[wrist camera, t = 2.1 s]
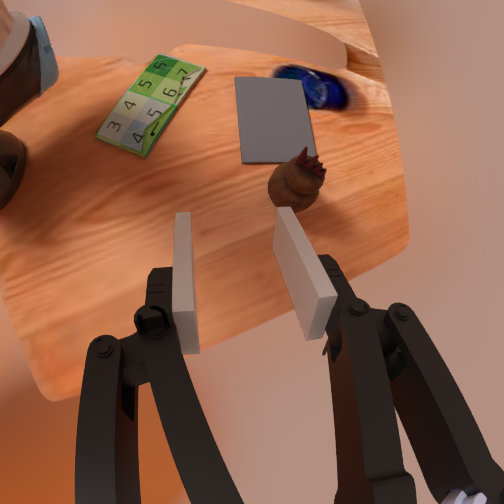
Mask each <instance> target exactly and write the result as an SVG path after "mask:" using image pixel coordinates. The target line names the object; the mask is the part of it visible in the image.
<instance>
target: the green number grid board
mask: <svg viewBox="0 0 504 504" xmlns="http://www.w3.org/2000/svg"><path fill="white" fill-rule="evenodd" d="M205 70H206V67H203V66H200V65H197V64H194V63H191V62H188V61H185V60H182V59H179V58H175V57H172V56H169V55H165V54H161V53H158V54H157V55H156V56H155V57H154V58H153V60H152V61H151V62H150V63H149V64H148V65H147V66H146V68H145V69H144V70H143V71H142V72H141V74H140V75H139V76H138V77H137V78H136V80H135V81H134V82H133V83H132V85H131V86H130V87H129V88H128V90H127V91H126V92H125V94H124V95H123V96H122V97H121V99H120V100H119V101H118V103H117V104H116V106H115V107H114V108H113V110H112V111H111V112H110V114H109V115H108V117H107V118H106V120H105V121H104V122H103V124H102V125H101V127H100V128H99V130H98V131H97V133H96V134H95V138H97V139H99V140H102V141H104V142H107V143H109V144H112V145H114V146H116V147H119V148H121V149H124V150H126V151H129V152H131V153H133V154H136V155H138V156H140V157H143V158H146V156H147V154H148V153H149V151H150V149H151V148H152V146H153V145H154V143H155V141H156V140H157V138H158V137H159V135H160V134H161V132H162V131H163V129H164V127H165V126H166V124H167V123H168V121H169V120H170V118H171V117H172V116H173V114H174V113H175V111H176V110H177V108H178V107H179V105H180V104H181V103H182V101H183V100H184V98H185V97H186V96H187V94H188V93H189V91H190V90H191V89H192V87H193V86H194V85H195V83H196V82H197V81H198V79H199V78H200V77H201V75H202V74H203V73H204V72H205Z"/></svg>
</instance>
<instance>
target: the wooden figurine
mask: <svg viewBox="0 0 504 504" xmlns="http://www.w3.org/2000/svg"><path fill="white" fill-rule="evenodd" d="M307 151H308V147H306V146H305V147H304V149H303V150H302V152H301V153H300V155H299V156H295V157H294V158H292V159H291V160H290V161H289V162H285V163H282V164H281V165H279V166H278V167H277V168H276V169H275V170H274V172H273V174H272V175H271V177H270V179H269V182H268V193H269V196H270V198H271V200H272V202H273V203H274V205H275V206H277V207H291V209H292V210H293V212H294V213H297V212H300V211H302V210H305V209H306V208H308V207H309V206H311V205H312V204H313V203H314V202H315V201H316V199H317V196H318V194H319V189H320V188H321V186H322V185H323V182H324V179H325V173H326V170H327V169H323V167H322V165H323V163H320V162H319V161H318V160H317V159H318V157H319V156H318V155H316V156H314V157H311V156H309V155H307Z"/></svg>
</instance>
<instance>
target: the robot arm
mask: <svg viewBox="0 0 504 504" xmlns="http://www.w3.org/2000/svg"><path fill="white" fill-rule="evenodd" d="M58 77H59V69H58V65H57V62H56V58H55V55H54V52H53V49H52V47H51V44H50V40H49V37H48V34H47V31H46V28H45V26H44V23H43V21H42V19H41V17H40V16H38V15H36V16H34V17H30V18H27V17H26V15H24V14H23V13H21V12H9V11H8V9H7V8H6V6H5V4H4V2H3V0H0V127H1V126H2V125H4V124H5V123H6V122H7V121H8V120H10V119H11V118H12V117H13V116H15V115H16V114H17V113H18V112H20V111H21V110H22V109H23V108H25V107H26V106H27V105H29V104H30V103H31V102H33V101H34V100H35V99H37V98H39V97H41V95H42V94H43V93H44V92H45V91H46V90H48V89H49V88H50V87H51V86H53V85H54V84H55V83H56V81H57V80H58ZM24 167H25V150H24V146H23V144H22V143H21V141H20V140H19V139H18V138H17V137H16V136H15V135H13V134H12V133H10V132H7V131H3V130H0V209H1V208H2V207H4V206H5V205H6V204H7V203H8V201H9V200H10V199H11V198H12V196H13V195H14V193H15V191H16V190H17V188H18V186H19V183H20V181H21V178H22V175H23V172H24ZM272 249H273V252H274V254H275V257H276V260H277V262H278V265H279V268H280V270H281V273H282V276H283V279H284V281H285V284H286V287H287V289H288V292H289V295H290V298H291V300H292V303H293V306H294V308H295V311H296V314H297V316H298V320H299V322H300V325H301V328H302V330H303V333H304V336H305V339H306V341H307V340H313V339H319V338H322V337H323V335H324V332H325V330H326V333H327V335H328V340H327V342H326V345H325V347H324V350H323V355H325V354H326V351H327V354H328V363H329V372H330V382H331V392H332V403H333V413H334V425H335V438H336V439H335V440H336V455H337V472H338V473H337V474H338V489H337V493H336V495H335V499H334V504H417V499H416V488H415V482H414V479H413V477H412V475H411V474H409V473H408V472H406V471H405V469H404V465H403V457H402V450H401V443H400V437H399V430H398V425H397V419H396V413H395V409H396V411H397V413H398V415H399V417H400V420H401V422H402V425H403V427H404V429H405V432H406V434H407V436H408V439H409V441H410V443H411V446H412V448H413V451H414V453H415V456H416V458H417V461H418V463H419V466H420V468H421V471H422V473H423V476H424V479H425V481H426V484H427V486H428V488H429V490H430V492H431V494H432V495H433V497H434V499H435V500H436V501H437V502H438V504H504V471H503V470H502V469H501V468H500V467H499V465H498V464H497V463H496V462H495V461H494V460H493V459H492V457H491V454H490V452H489V450H488V447H487V445H486V443H485V441H484V438H483V436H482V434H481V432H480V430H479V427H478V425H477V423H476V421H475V419H474V417H473V415H472V413H471V411H470V409H469V407H468V405H467V403H466V401H465V399H464V397H463V395H462V393H461V392H460V389H459V388H458V386H457V384H456V382H455V380H454V378H453V376H452V375H451V373H450V371H449V369H448V367H447V366H446V364H445V362H444V360H443V359H442V357H441V355H440V354H439V352H438V350H437V348H436V347H435V345H434V343H433V342H432V340H431V338H430V337H429V335H428V334H427V332H426V330H425V329H424V327H423V326H422V324H421V323H420V321H419V319H418V318H417V316H416V315H415V313H414V311H412V309H411V308H410V307H409V306H407V305H405V304H402V303H394V304H392V305H391V306H390V307H389V308H388V310H381V309H374V308H370V306H369V305H368V304H367V303H366V302H365V301H364V300H362V299H359V298H357V297H356V295H355V294H354V292H353V290H352V288H351V286H350V285H349V283H348V281H347V279H346V278H345V276H344V274H343V272H342V271H341V270H340V267H339V265H338V264H337V262H336V261H335V260H334V259H333V258H332V257H331V256H329V255H328V254H326V255H317V254H316V252H315V250H314V249H313V247H312V245H311V243H310V241H309V239H308V237H307V236H306V234H305V232H304V230H303V228H302V227H301V225H300V223H299V221H298V219H297V218H296V216H295V214H294V212H293V210H292V209H291V207H277V209H276V219H275V227H274V236H273V245H272ZM134 323H135V326H136V329H137V332H136V333H134V334H133V335H130V336H128V337H125V338H122V339H119V340H118V339H117V338H115V337H113V336H111V335H102V336H99V337H97V338H95V339H94V340H93V341H92V342H91V343H90V345H89V347H88V351H87V357H86V362H85V368H84V375H83V382H82V389H81V396H80V405H79V415H78V425H77V438H76V456H75V504H141V495H140V481H139V460H138V386H139V385H142V384H145V383H148V382H150V384H151V388H152V392H153V395H154V398H155V403H156V406H157V409H158V413H159V416H160V419H161V423H162V426H163V429H164V432H165V435H166V438H167V441H168V444H169V447H170V450H171V453H172V456H173V459H174V461H175V464H176V467H177V470H178V472H179V475H180V478H181V480H182V483H183V485H184V488H185V490H186V493H187V495H188V497H189V500H190V502H191V504H244V502H243V501H242V498H241V496H240V494H239V492H238V490H237V488H236V486H235V484H234V482H233V480H232V478H231V476H230V474H229V472H228V469H227V467H226V465H225V463H224V461H223V458H222V456H221V454H220V451H219V449H218V447H217V445H216V442H215V440H214V437H213V435H212V433H211V430H210V428H209V425H208V423H207V420H206V418H205V416H204V413H203V411H202V408H201V405H200V403H199V400H198V397H197V395H196V392H195V389H194V387H193V384H192V381H191V378H190V375H189V373H188V370H187V367H186V364H185V361H184V358H183V355H184V354H198V353H200V346H199V335H198V322H197V308H196V293H195V276H194V256H193V243H192V230H191V216H190V212H177V213H175V229H174V250H173V267H163V268H153V269H152V271H151V272H150V274H149V275H148V280H147V290H146V300H145V305H144V306H142V307H140V308H139V309H138V310H137V311H136V313H135V315H134ZM394 406H395V408H394Z"/></svg>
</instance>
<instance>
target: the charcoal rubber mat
mask: <svg viewBox="0 0 504 504" xmlns="http://www.w3.org/2000/svg"><path fill="white" fill-rule="evenodd" d="M235 89H236V100H237V112H238V124H239V135H240V147H241V158H242V164H248V163H285V162H289V161H290V160H291V159H292V158H294V157H295V156H299V155H300V153H301V152H302V150H303V149H304V147H305V146H306V147H308V151H307V155H309V156H311V157H314V156H316V151H315V146H314V140H313V135H312V130H311V125H310V120H309V115H308V110H307V105H306V100H305V96H304V91H303V87H302V82H301V80H293V79H280V78H264V77H235Z"/></svg>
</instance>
